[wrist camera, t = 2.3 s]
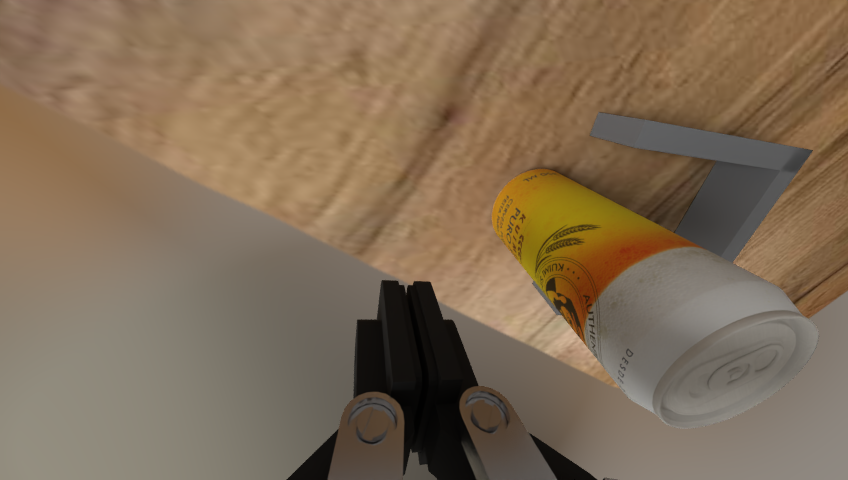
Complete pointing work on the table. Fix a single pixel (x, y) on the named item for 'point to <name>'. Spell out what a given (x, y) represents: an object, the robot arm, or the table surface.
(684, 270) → the beer can
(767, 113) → the table surface
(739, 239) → the corral
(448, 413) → the robot arm
